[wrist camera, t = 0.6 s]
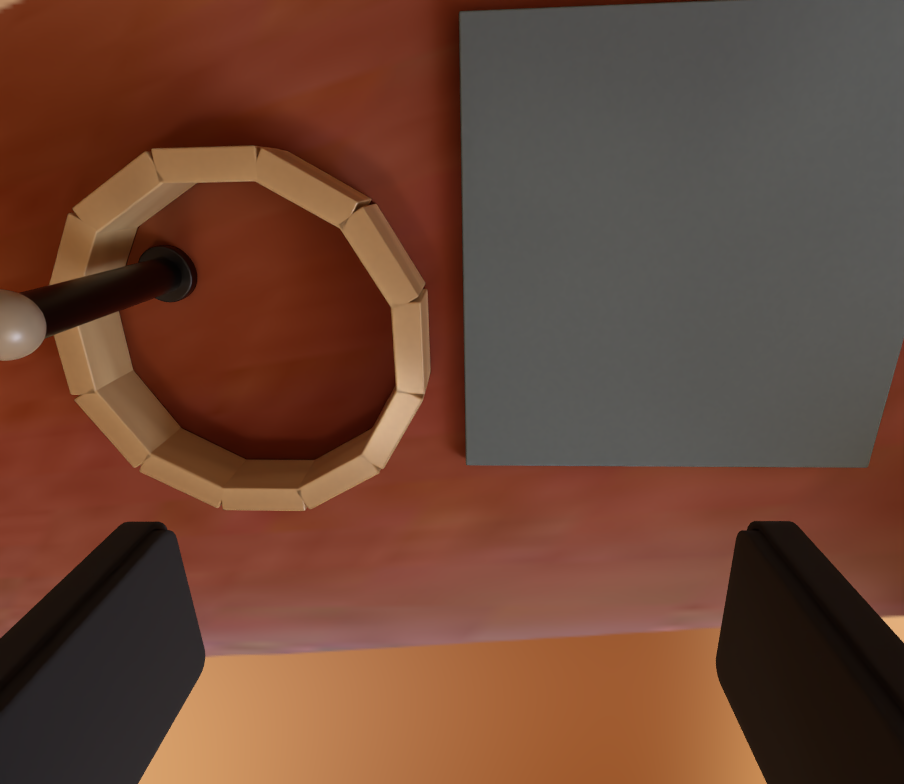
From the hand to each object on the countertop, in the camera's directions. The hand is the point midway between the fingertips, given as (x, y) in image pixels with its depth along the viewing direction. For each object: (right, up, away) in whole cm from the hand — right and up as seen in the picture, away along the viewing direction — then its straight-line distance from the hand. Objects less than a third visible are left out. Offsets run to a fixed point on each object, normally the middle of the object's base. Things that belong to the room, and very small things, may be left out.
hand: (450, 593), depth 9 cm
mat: (+11, +9, +16) cm, 21 cm away
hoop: (-9, +6, +18) cm, 21 cm away
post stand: (-13, +9, +17) cm, 24 cm away
